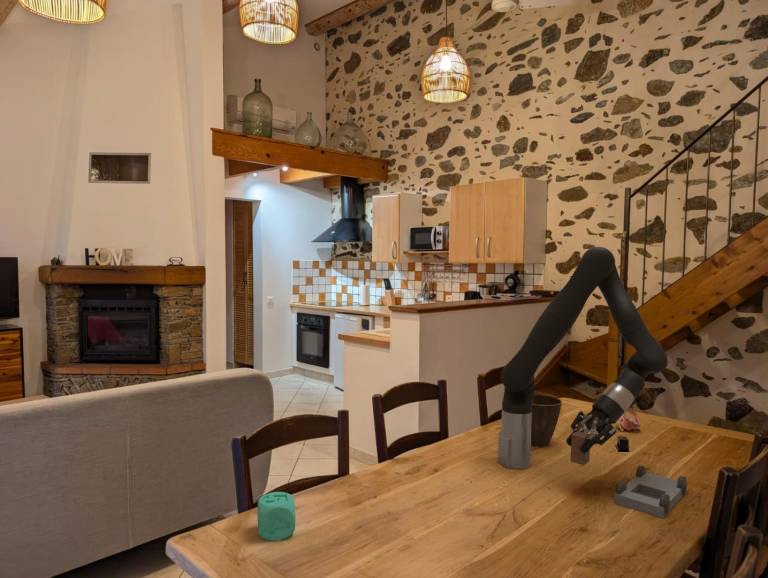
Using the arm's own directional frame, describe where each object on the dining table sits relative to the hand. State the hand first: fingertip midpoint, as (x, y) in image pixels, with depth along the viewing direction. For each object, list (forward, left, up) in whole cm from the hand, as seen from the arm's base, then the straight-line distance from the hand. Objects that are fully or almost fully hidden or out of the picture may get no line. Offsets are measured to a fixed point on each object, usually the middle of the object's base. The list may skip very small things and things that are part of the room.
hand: (574, 447), depth 146 cm
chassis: (+20, -7, -13) cm, 25 cm away
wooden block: (+2, 0, -4) cm, 5 cm away
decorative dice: (-81, 0, -13) cm, 82 cm away
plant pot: (+14, +39, -13) cm, 43 cm away
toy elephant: (+57, +44, -13) cm, 73 cm away
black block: (+39, +27, -14) cm, 50 cm away
